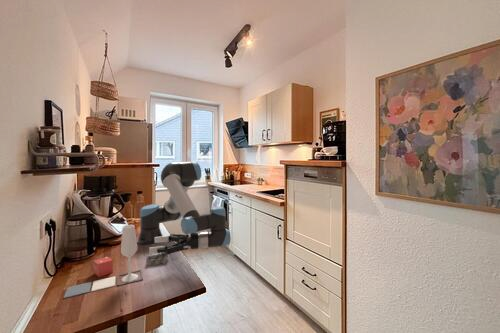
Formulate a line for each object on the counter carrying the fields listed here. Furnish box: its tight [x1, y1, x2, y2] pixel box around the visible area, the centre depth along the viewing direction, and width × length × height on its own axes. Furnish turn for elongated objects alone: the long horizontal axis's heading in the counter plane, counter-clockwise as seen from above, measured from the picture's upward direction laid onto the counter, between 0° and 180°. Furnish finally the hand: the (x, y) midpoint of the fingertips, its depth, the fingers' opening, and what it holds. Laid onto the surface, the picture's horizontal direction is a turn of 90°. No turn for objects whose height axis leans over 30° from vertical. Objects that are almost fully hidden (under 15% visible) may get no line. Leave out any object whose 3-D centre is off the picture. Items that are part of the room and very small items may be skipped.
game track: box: [62, 269, 144, 300], centre depth 98 cm, size 28×10×1 cm, turn 119°
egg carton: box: [145, 253, 169, 266], centre depth 119 cm, size 11×8×4 cm
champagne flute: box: [120, 224, 139, 283], centre depth 102 cm, size 7×7×24 cm
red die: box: [93, 256, 114, 278], centre depth 108 cm, size 6×6×7 cm
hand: (152, 245), depth 105 cm, fingers open, 13 cm apart
